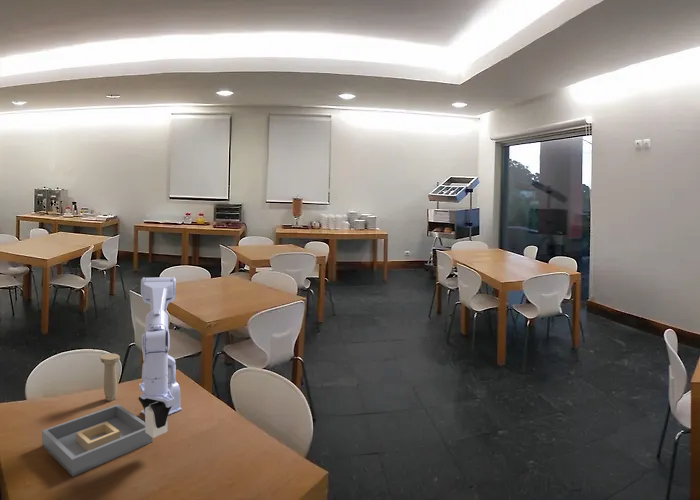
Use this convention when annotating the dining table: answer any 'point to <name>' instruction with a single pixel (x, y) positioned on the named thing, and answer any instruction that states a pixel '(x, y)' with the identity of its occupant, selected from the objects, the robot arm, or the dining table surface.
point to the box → (95, 438)
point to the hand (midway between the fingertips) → (156, 423)
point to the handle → (110, 375)
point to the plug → (153, 423)
